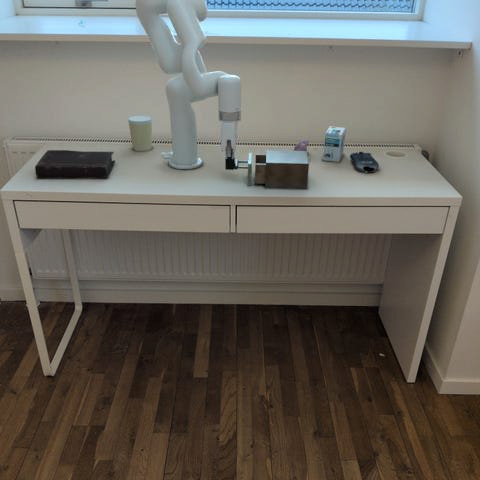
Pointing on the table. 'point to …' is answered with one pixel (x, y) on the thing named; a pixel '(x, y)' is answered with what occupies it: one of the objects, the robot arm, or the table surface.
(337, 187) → the table surface
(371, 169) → the electronic device
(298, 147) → the video game controller
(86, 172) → the diary
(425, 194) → the table surface
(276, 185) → the cabinet
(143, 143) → the coffee cup
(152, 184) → the table surface
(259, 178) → the drawer
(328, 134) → the light bulb box
